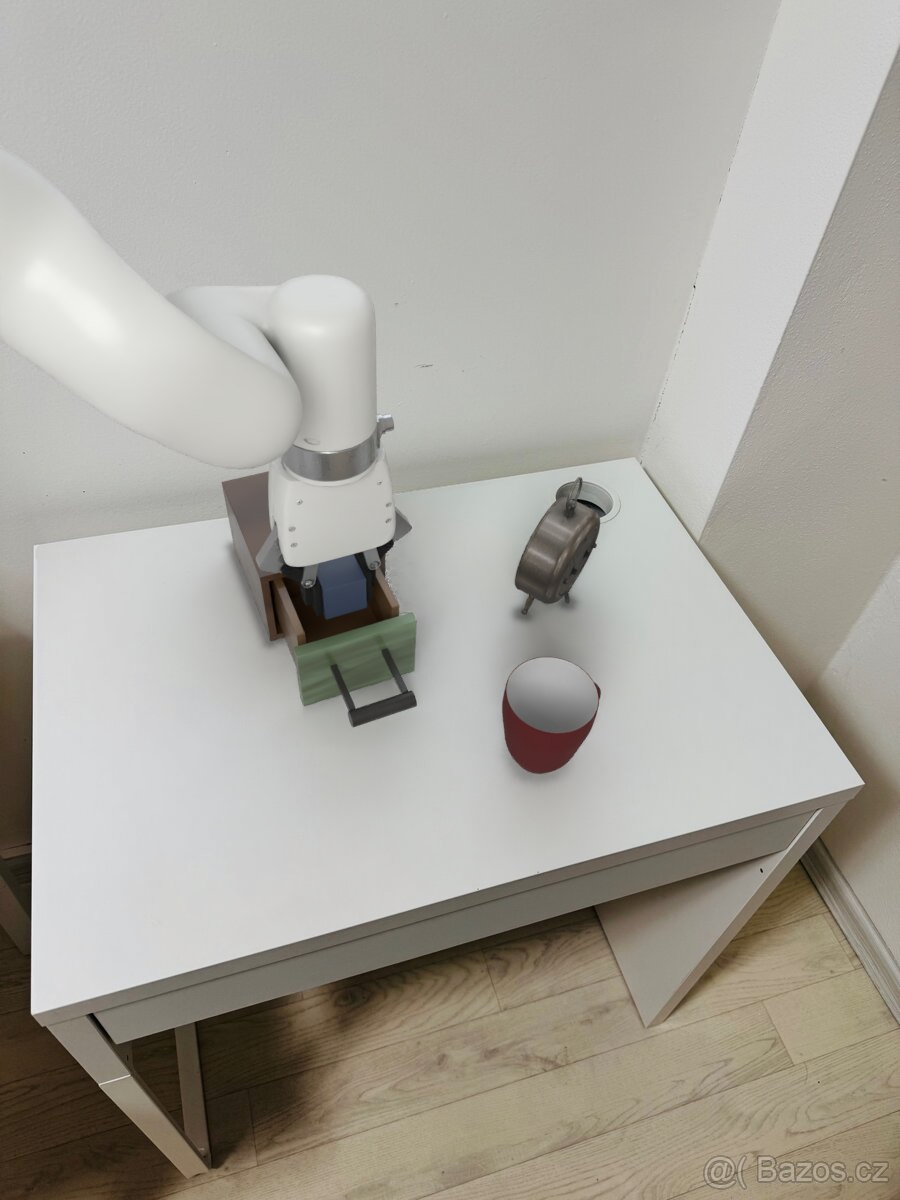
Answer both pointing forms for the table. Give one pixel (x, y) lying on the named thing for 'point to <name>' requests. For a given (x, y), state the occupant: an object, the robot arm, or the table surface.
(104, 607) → the table surface
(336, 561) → the block
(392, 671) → the drawer
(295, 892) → the table surface
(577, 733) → the mug
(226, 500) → the cabinet
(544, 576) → the alarm clock
